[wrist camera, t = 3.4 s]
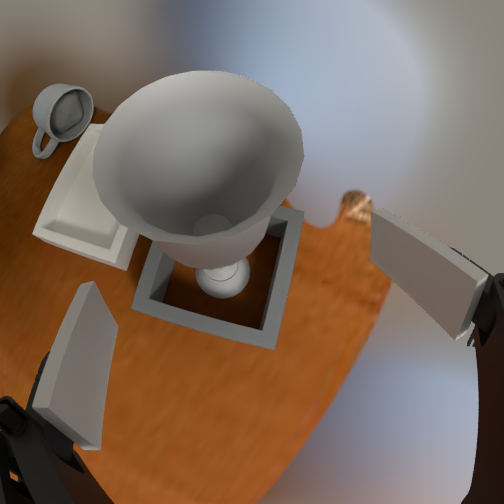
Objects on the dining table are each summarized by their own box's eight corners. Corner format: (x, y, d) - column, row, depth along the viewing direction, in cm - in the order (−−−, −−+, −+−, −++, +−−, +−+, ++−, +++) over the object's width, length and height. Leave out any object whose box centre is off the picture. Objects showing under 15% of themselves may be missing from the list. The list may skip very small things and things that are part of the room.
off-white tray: (45, 242, 25) (32, 233, 22) (98, 137, 29) (90, 123, 27) (126, 270, 24) (115, 263, 22) (178, 146, 29) (173, 130, 26)
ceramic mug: (74, 103, 32) (56, 70, 24) (101, 113, 31) (82, 76, 23) (30, 153, 29) (4, 124, 21) (51, 170, 28) (22, 138, 21)
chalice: (174, 249, 25) (87, 109, 8) (241, 222, 26) (247, 56, 9) (202, 322, 23) (113, 285, 6) (273, 292, 25) (347, 193, 7)
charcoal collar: (146, 313, 23) (130, 308, 20) (183, 202, 27) (175, 181, 23) (268, 347, 23) (274, 349, 19) (295, 229, 26) (304, 211, 23)
